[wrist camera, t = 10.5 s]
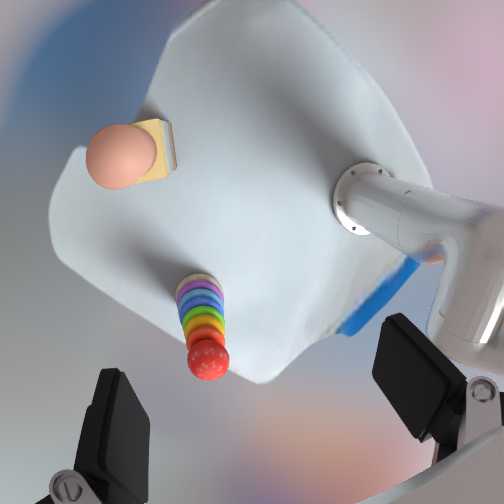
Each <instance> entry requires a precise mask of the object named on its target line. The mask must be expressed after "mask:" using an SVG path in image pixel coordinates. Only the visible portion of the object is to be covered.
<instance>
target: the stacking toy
mask: <svg viewBox="0 0 504 504" xmlns="http://www.w3.org/2000/svg"><path fill="white" fill-rule="evenodd" d="M223 296H224V294H223V289H222V287H221V285H220V283H219V282H218V281H217V280H216V279H215V278H213V277H211V276H209V275H206V274H192V275H189V276H187V277H186V278H184V279H183V280H182V281H181V282H180V283H179V284H178V286H177V288H176V292H175V299H176V303H177V308H178V314H179V318H180V322H181V325H182V327H183V331H184V336H185V339H186V346H187V349H188V350H189V354H188V358H187V360H188V366H189V368H190V370H191V372H192V373H193V374H194V375H195V376H196V377H198V378H200V379H202V380H215V379H218V378H220V377H221V376H223V375H224V374H225V372H226V371H227V369H228V367H229V355H228V352H227V350H226V349H225V338H224V335H225V328H224V327H225V321H224V297H223Z"/></svg>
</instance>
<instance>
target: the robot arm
mask: <svg viewBox="0 0 504 504" xmlns="http://www.w3.org/2000/svg"><path fill="white" fill-rule="evenodd" d="M351 172H352V173H351ZM333 207H334V212H335V215H336V218H337V219H338V221H339V223H340V224H341V225H342V226H343V227H344V228H346V229H347V230H348V231H350V232H352V233H355V234H358V235H365V234H370V233H371V234H373V235H374V236H376V237H378V238H379V239H381V240H383V241H384V242H386V243H387V244H389V245H391V246H392V247H394V248H395V249H397V250H399V251H400V252H402V253H403V254H405V255H407V256H408V257H410V258H411V259H413V260H415V261H417V262H420V263H425V264H432V263H438V262H441V261H444V265H443V270H442V273H441V278H440V281H439V285H438V288H437V291H436V294H435V297H434V300H433V303H432V306H431V309H430V312H429V315H428V318H427V322H426V336H425V335H424V334H423V333H422V332H421V331H420V330H419V329H418V328H417V327H416V326H415V325H414V324H413V323H412V322H411V321H410V320H408V318H407V317H405V316H404V315H403V314H402V313H397V314H394V315H391V316H388V317H386V319H385V321H384V322H383V323H382V327H381V332H380V337H379V342H378V348H377V352H376V356H375V361H374V365H373V369H372V375H373V378H374V380H375V382H376V383H377V384H378V386H379V387H380V389H381V390H382V392H383V393H384V394H385V396H386V397H387V399H388V400H389V402H390V403H391V405H392V406H393V408H394V409H395V411H396V412H397V414H398V415H399V417H400V418H401V420H402V421H403V423H404V424H405V425H406V427H407V428H408V430H409V431H410V433H411V434H412V435H413V437H414V438H416V439H417V438H418V439H419V441H420V442H421V443H423V442H424V441H426V440H428V439H430V438H431V437H433V438H434V440H435V448H434V453H433V459H432V464H431V467H430V468H428V469H426V470H425V471H423V472H421V473H419V474H417V475H415V476H414V477H412V478H410V479H408V480H406V481H404V482H402V483H400V484H398V485H396V486H394V487H392V488H390V489H388V490H386V491H384V492H382V493H379V494H377V495H375V496H372V497H370V498H367V499H365V500H363V501H360V502H358V503H355V504H504V392H499V389H498V386H497V385H496V383H495V382H494V381H493V380H491V379H490V378H487V377H484V376H477V377H474V378H472V379H471V380H470V381H469V382H467V381H466V377H465V376H464V375H463V374H462V373H461V372H460V371H459V370H458V368H457V367H456V366H454V364H453V363H451V361H450V360H449V359H451V360H453V361H456V362H458V363H461V364H464V365H467V366H469V367H473V368H476V369H478V370H481V371H484V372H488V373H491V374H494V375H497V376H500V377H503V378H504V207H503V206H500V205H497V204H491V203H485V202H479V201H473V200H468V199H463V198H458V197H455V196H452V195H448V194H445V193H442V192H438V191H435V190H432V189H429V188H426V187H423V186H419V185H416V184H413V183H409V182H406V181H402V180H399V179H395V178H392V177H391V176H390V175H389V174H388V172H387V171H386V170H385V169H384V168H382V167H381V166H379V165H377V164H373V163H368V162H364V163H358V164H355V165H353V166H351V167H350V168H349V169H347V170H346V171H345V172H344V173H343V174H342V176H341V177H340V179H339V180H338V182H337V184H336V187H335V190H334V195H333ZM448 358H449V359H448ZM149 437H150V421H149V417H148V415H147V414H146V412H145V410H144V409H143V407H142V405H141V403H140V401H139V400H138V398H137V396H136V394H135V392H134V390H133V388H132V386H131V385H130V383H129V381H128V379H127V377H126V375H125V373H124V372H120V371H119V369H118V368H108V369H102V370H101V372H100V375H99V378H98V382H97V385H96V389H95V393H94V397H93V400H92V404H91V405H89V407H88V408H87V410H86V414H85V418H84V422H83V426H82V430H81V435H80V440H79V444H78V449H77V453H76V459H75V464H74V469H73V470H69V469H68V470H61V471H59V472H57V473H56V474H55V475H54V476H53V477H52V479H51V480H50V484H49V492H50V494H49V495H48V496H46V497H45V498H43V499H42V500H40V501H39V502H37V503H35V504H144V503H147V502H148V464H149V461H148V460H149Z"/></svg>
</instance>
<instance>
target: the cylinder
mask: <svg viewBox="0 0 504 504" xmlns="http://www.w3.org/2000/svg"><path fill="white" fill-rule="evenodd" d="M156 157H157V146H156V143H155V140H154V138H153V137H152V136H151V134H150V133H148V132H147V131H146V130H144V129H141V128H138V127H133V126H129V125H124V124H114V125H110V126H107V127H105V128H103V129H101V130H100V131H99V132H97V133H96V134H95V136H94V137H93V138H92V140H91V141H90V143H89V145H88V148H87V152H86V166H87V169H88V172H89V174H90V176H91V177H92V179H93V180H94V181H95V182H96V183H97V184H99V185H100V186H102V187H104V188H107V189H122V188H125V187H128V186H130V185H131V184H133V183H134V182H135V181H137V180H138V179H139V178H141V177H142V176H144V175H145V174H146V173H147V172H149V171H150V169H151V168H152V167H153V165H154V163H155V161H156Z"/></svg>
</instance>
